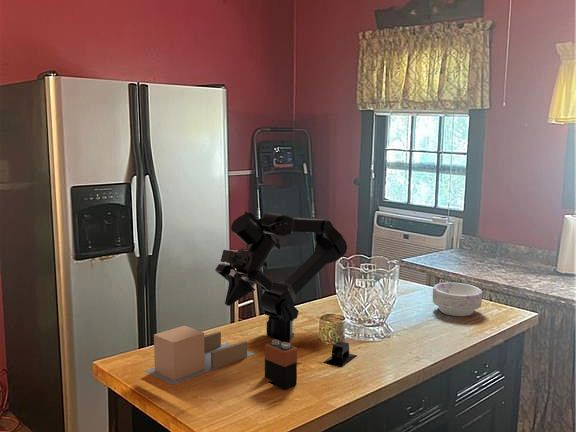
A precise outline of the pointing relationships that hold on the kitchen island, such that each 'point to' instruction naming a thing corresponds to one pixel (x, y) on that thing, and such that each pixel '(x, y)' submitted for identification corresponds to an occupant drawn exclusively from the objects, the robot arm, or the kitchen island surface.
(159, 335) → the block
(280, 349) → the battery
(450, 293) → the white marble bowl
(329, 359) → the black rectangular piece
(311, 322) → the kitchen island surface
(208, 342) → the chute
